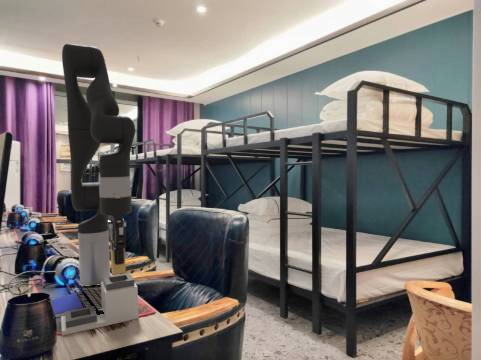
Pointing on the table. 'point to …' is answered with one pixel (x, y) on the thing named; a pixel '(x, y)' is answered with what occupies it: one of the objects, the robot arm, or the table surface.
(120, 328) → the table surface
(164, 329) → the table surface
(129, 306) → the console
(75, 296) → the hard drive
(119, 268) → the plug
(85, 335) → the table surface
